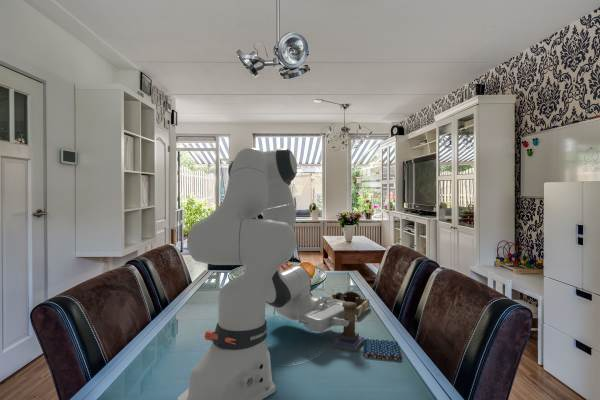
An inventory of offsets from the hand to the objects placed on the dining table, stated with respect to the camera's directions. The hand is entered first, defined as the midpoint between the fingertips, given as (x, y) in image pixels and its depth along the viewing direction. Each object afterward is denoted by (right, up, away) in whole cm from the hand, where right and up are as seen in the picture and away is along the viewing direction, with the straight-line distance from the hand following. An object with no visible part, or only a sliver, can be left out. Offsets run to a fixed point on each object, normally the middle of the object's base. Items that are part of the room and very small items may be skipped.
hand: (352, 321), depth 103 cm
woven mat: (+8, -8, -4) cm, 12 cm away
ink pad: (-1, -7, 0) cm, 7 cm away
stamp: (-1, -6, +1) cm, 6 cm away
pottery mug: (+3, -7, +33) cm, 34 cm away
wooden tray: (+2, -7, +32) cm, 33 cm away
